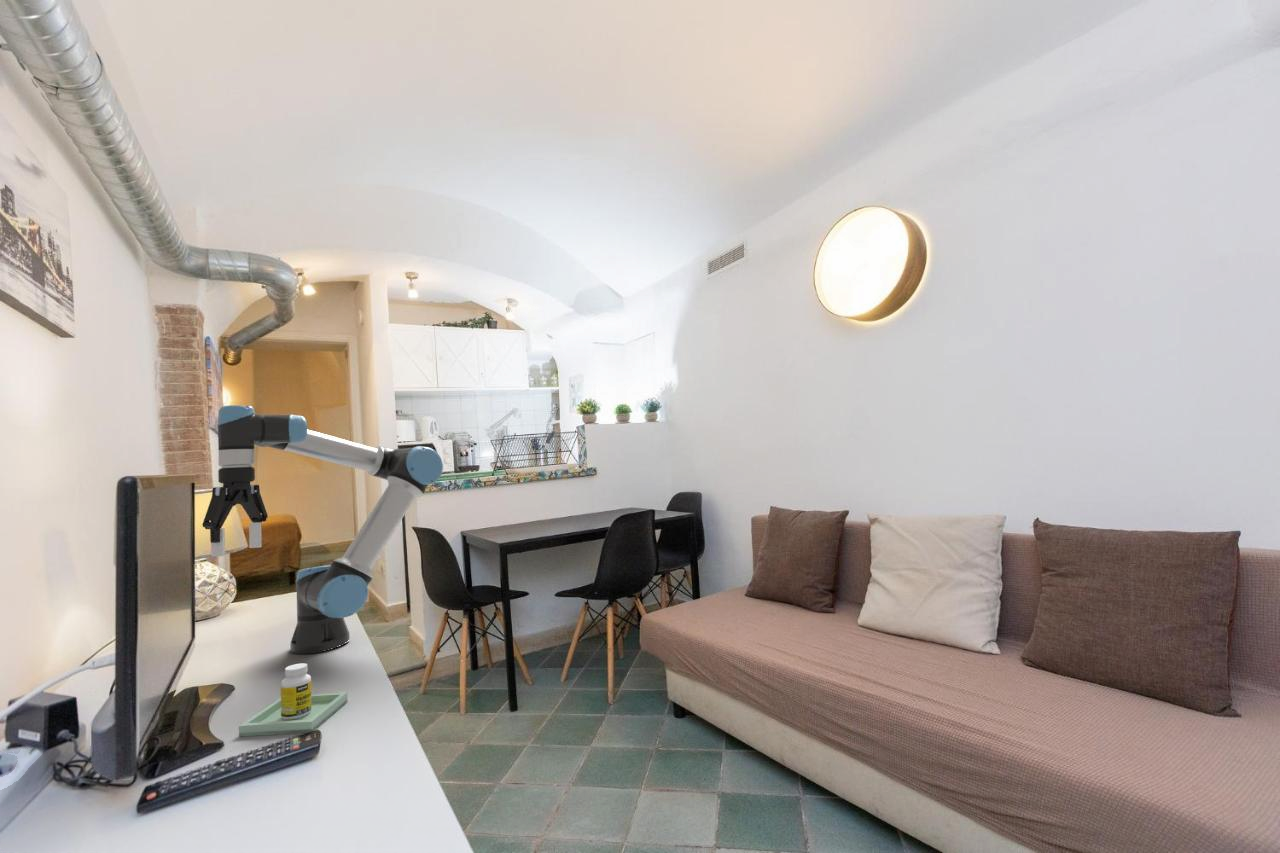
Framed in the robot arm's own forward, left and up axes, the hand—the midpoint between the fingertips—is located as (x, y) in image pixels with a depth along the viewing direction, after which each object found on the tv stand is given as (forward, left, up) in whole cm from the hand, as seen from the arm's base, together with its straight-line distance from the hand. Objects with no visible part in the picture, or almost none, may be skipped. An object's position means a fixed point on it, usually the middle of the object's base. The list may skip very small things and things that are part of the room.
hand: (237, 551), depth 143 cm
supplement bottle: (+24, +28, -31) cm, 48 cm away
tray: (+24, +28, -32) cm, 49 cm away
